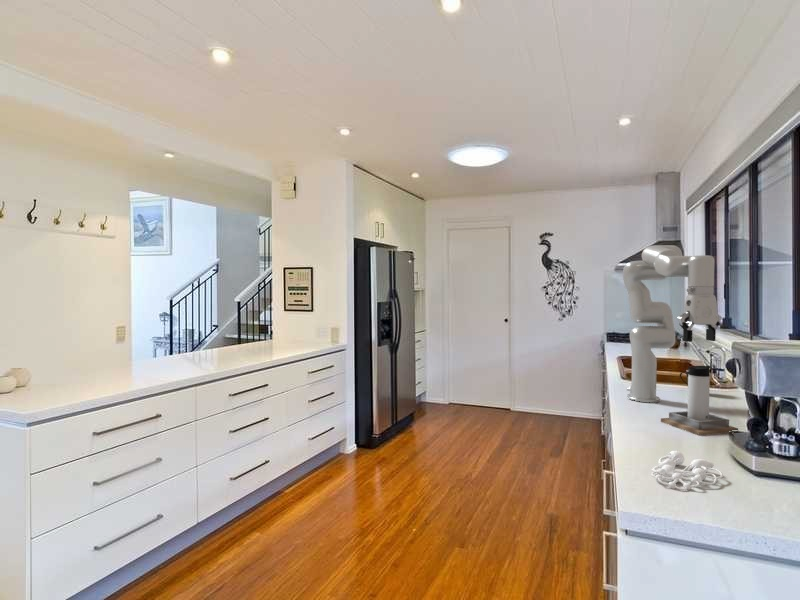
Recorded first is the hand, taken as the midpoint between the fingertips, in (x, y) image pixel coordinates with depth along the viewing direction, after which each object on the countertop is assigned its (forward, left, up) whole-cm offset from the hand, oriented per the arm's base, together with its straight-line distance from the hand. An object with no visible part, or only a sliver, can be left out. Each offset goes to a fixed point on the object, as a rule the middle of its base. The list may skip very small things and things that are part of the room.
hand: (699, 341), depth 162 cm
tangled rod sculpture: (+35, -40, -30) cm, 61 cm away
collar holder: (0, 0, -30) cm, 30 cm away
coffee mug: (-44, +44, -30) cm, 69 cm away
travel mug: (0, 0, -29) cm, 29 cm away
